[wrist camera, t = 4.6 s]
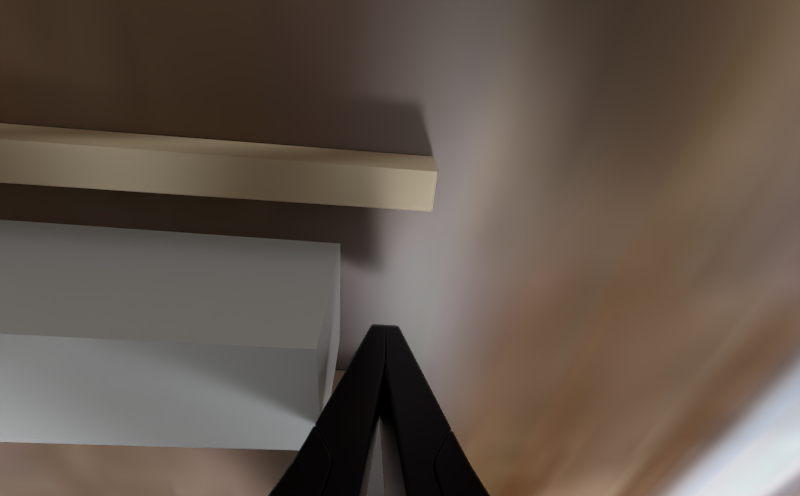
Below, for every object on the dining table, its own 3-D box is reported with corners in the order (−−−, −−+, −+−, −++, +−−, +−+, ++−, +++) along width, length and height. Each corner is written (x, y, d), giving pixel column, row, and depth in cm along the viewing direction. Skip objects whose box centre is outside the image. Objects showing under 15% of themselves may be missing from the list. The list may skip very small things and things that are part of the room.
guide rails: (433, 156, 9) (438, 171, 8) (400, 388, 14) (401, 412, 13) (-451, 88, 7) (-558, 98, 7) (-119, 370, 13) (-155, 395, 12)
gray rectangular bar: (341, 238, 10) (314, 354, 7) (341, 334, 12) (321, 458, 9) (-278, 194, 9) (-691, 305, 6) (-154, 309, 11) (-393, 438, 8)
